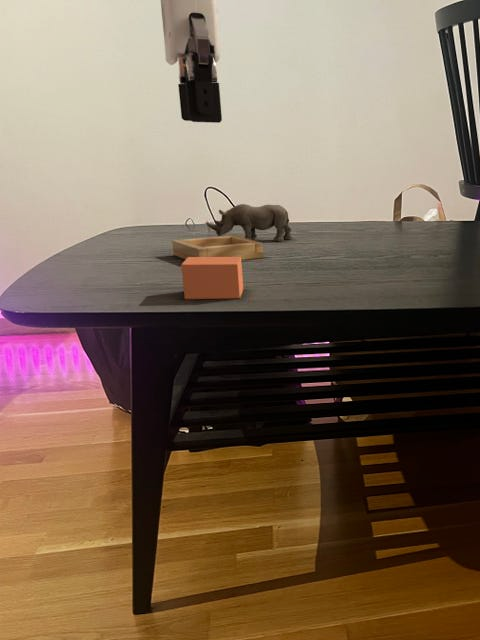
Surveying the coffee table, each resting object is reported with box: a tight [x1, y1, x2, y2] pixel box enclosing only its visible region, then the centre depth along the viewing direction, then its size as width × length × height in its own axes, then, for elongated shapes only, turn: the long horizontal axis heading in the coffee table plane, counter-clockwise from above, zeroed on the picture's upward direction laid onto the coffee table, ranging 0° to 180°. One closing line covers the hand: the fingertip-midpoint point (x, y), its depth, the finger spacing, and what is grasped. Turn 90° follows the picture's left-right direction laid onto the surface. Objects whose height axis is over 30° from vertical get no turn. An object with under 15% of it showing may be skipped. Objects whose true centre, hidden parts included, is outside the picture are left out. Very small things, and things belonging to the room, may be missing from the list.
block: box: [181, 257, 244, 300], centre depth 82 cm, size 6×5×4 cm
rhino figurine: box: [205, 203, 293, 242], centre depth 118 cm, size 4×14×6 cm, turn 107°
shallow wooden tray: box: [171, 234, 264, 261], centre depth 104 cm, size 10×9×2 cm
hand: (201, 121), depth 79 cm, fingers open, 9 cm apart
